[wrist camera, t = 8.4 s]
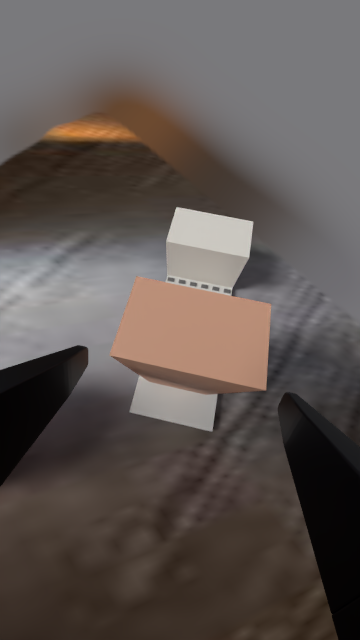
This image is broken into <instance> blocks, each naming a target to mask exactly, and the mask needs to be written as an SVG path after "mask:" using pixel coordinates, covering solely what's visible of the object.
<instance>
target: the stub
mask: <svg viewBox="0 0 360 640" xmlns="http://www.w3.org/2000/svg"><path fill="white" fill-rule="evenodd" d="M270 315H271V304H268V303H263V302H258V301H254V300H249V299H244V298H239V297H234V296H229V295H225V294H220V293H215V292H210V291H205V290H200V289H196V288H191V287H186V286H181V285H176V284H171V283H167V282H162V281H157V280H152V279H147V278H142V277H138V276H136V279H135V282H134V285H133V288H132V291H131V294H130V297H129V300H128V302H127V305H126V308H125V311H124V314H123V317H122V320H121V323H120V326H119V329H118V332H117V335H116V337H115V340H114V343H113V346H112V349H111V352H110V356H111V357H113V358H114V359H116V360H117V361H119V362H120V363H122V364H123V365H125V366H126V367H128V368H129V369H131V370H132V371H134V372H135V373H137V374H138V375H140V376H141V377H143V378H144V379H146V380H147V381H149V382H152V383H157V384H161V385H165V386H170V387H174V388H178V389H183V390H187V391H192V392H196V393H200V394H205V395H210V394H224V393H238V392H252V391H266V383H267V366H268V349H269V332H270Z"/></svg>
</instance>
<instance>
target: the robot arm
mask: <svg viewBox="0 0 360 640" xmlns="http://www.w3.org/2000/svg"><path fill="white" fill-rule="evenodd" d="M87 365H88V348H87V347H85V346H80V345H77V346H74V347H71V348H68V349H65V350H62V351H59V352H55V353H52V354H49V355H46V356H43V357H40V358H37V359H33V360H30V361H27V362H24V363H21V364H18V365H15V366H12V367H8V368H5V369H2V370H0V486H1V485H2V484H3V482H4V481H5V480H6V478H7V477H8V476H9V474H10V473H11V472H12V471H13V469H14V468H15V467H16V465H17V464H18V463H19V461H20V460H21V459H22V457H23V456H24V455H25V453H26V452H27V451H28V449H29V448H30V447H31V446H32V444H33V443H34V442H35V440H36V439H37V438H38V436H39V435H40V434H41V432H42V431H43V430H44V428H45V427H46V426H47V424H48V423H49V422H50V421H51V419H52V418H53V417H54V415H55V414H56V413H57V411H58V410H59V409H60V407H61V406H62V405H63V403H64V402H65V401H66V399H67V398H68V397H69V395H70V394H71V392H72V391H73V389H74V387H75V386H76V384H77V382H78V381H79V379H80V377H81V376H82V374H83V372H84V371H85V369H86V367H87ZM278 414H279V420H280V426H281V432H282V437H283V443H284V447H285V451H286V455H287V458H288V462H289V465H290V469H291V472H292V476H293V479H294V483H295V487H296V490H297V494H298V497H299V501H300V504H301V508H302V511H303V515H304V518H305V522H306V526H307V529H308V533H309V536H310V540H311V543H312V547H313V550H314V554H315V557H316V561H317V565H318V568H319V572H320V575H321V579H322V582H323V586H324V589H325V593H326V596H327V600H328V604H329V607H330V611H331V613H332V614H333V615H332V618H333V622H334V626H335V629H336V633H337V636H338V640H360V447H359V446H358V445H357V444H356V443H354V442H353V441H352V440H351V439H350V438H348V437H347V436H346V435H345V434H344V433H342V432H341V431H340V430H339V429H338V428H336V427H335V426H334V425H333V424H332V423H330V422H329V421H328V420H327V419H326V418H324V417H323V416H322V415H321V414H320V413H318V412H317V411H316V410H315V409H314V408H312V407H311V406H310V405H309V404H308V403H306V402H305V401H304V400H303V399H302V398H300V397H299V396H298V395H297V394H294V393H290V392H286V393H285V394H284V395H283V397H282V399H281V401H280V403H279V406H278Z"/></svg>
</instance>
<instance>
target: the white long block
mask: <svg viewBox="0 0 360 640" xmlns="http://www.w3.org/2000/svg"><path fill="white" fill-rule="evenodd" d="M252 228H253V222H252V221H247V220H241V219H236V218H231V217H226V216H220V215H215V214H210V213H205V212H199V211H194V210H189V209H184V208H178V207H176V211H175V214H174V217H173V221H172V224H171V227H170V230H169V234H168V237H167V240H166V249H167V274H168V275H167V279H166V282H167V283H171V284H176V285H181V286H186V287H191V288H196V289H200V290H205V291H210V292H215V293H220V294H225V295H229V296H231V295H232V288H233V286H234V284H235V283H236V281H237V279H238V277H239V275H240V274H241V272H242V270H243V268H244V266H245V264H246V263H247V261H248V259H249V255H250V246H251V237H252ZM217 395H218V394H210V395H205V394H200V393H196V392H192V391H187V390H183V389H178V388H174V387H170V386H165V385H161V384H157V383H152V382H149V381H147V380H146V379H144V378H143V377H141V376H140V375H139V379H138V383H137V386H136V390H135V393H134V397H133V401H132V404H131V408H130V411H129V412H131V413H135V414H139V415H144V416H148V417H152V418H156V419H160V420H165V421H169V422H173V423H177V424H182V425H186V426H190V427H194V428H198V429H203V430H207V431H211V432H212V431H213V423H214V416H215V409H216V402H217Z"/></svg>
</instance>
